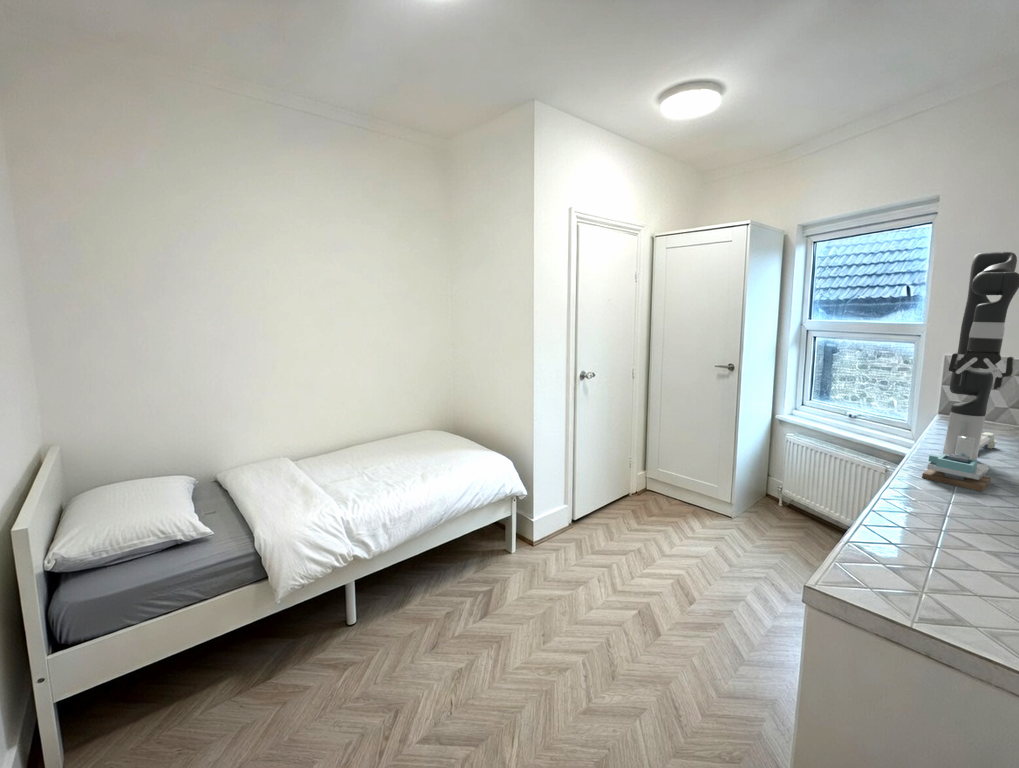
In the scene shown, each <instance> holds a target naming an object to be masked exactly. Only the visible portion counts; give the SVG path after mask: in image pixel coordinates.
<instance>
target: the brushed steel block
mask: <svg viewBox="0 0 1019 768" xmlns="http://www.w3.org/2000/svg"><path fill="white" fill-rule="evenodd" d="M947 460H951V461H956V462H961V463H966V464H969V460H970V457H965V456H960V455H955V454H950V455H949V456H948V459H947ZM944 477H947V478H952V479H956V480H961V481H964V480H965V479H966V477H963V476H958V475H954V474H949V473H945V475H944Z"/></svg>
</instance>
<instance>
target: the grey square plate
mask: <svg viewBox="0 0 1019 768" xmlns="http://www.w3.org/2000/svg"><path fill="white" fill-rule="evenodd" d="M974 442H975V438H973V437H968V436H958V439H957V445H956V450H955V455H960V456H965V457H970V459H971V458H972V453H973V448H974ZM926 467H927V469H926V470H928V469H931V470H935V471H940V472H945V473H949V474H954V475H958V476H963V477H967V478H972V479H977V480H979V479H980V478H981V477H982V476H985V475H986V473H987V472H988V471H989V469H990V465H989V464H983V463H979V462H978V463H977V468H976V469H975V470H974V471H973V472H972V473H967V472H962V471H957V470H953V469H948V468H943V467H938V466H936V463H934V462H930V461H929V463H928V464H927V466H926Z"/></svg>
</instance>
